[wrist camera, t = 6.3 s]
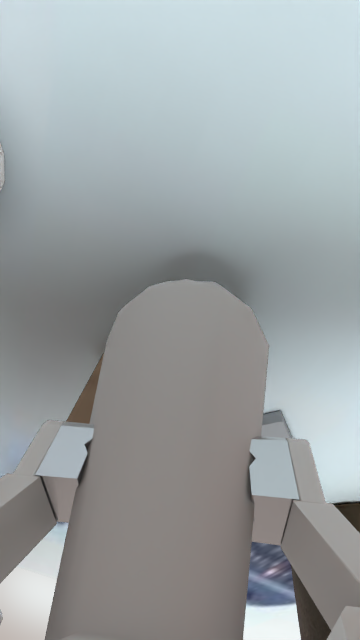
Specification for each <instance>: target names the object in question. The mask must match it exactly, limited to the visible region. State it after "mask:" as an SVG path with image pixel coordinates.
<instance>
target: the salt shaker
mask: <svg viewBox="0 0 360 640" xmlns="http://www.w3.org/2000/svg"><path fill="white" fill-rule="evenodd" d="M268 353H269V345H268V343H267V340H266V338H265V336H264V334H263V332H262V330H261V327H260V325H259V323H258V321H257V319H256V317H255V315H254V312H253V310H252V309H251V308H250V307H249V306H247V305H246V304H245V303H244V302H242V301H241V300H240V299H238V298H237V297H236V296H234V295H233V294H232V293H230V292H229V291H228V290H226V289H225V288H224V287H222V286H221V285H219V284H218V283H216V282H215V281H194V280H189V279H182V280H177V281H166V282H162V283H158V284H155V285H151V286H149V287H148V288H146V289H145V290H144V291H143V292H141V293H140V294H139V295H137V296H136V297H135V298H134V299H132V300H131V301H130V302H128V303H127V304H126V305H125V306H124V307H123V308H122V309H121V310H120V311H119V312H118V314H117V317H116V319H115V322H114V324H113V326H112V329H111V331H110V334H109V336H108V338H107V341H106V346H105V351H104V356H103V361H102V365H101V370H100V375H99V380H98V385H97V390H96V394H95V399H94V404H93V409H92V414H91V418H90V423H89V424H94V432H93V438H92V441H91V443H90V445H89V447H88V449H87V453H88V459H87V462H86V465H85V469H84V472H83V475H82V479H81V482H80V485H79V487H78V488H77V489H76V491H75V496H74V501H73V505H72V510H71V515H70V520H69V525H68V529H67V534H66V539H65V544H64V549H63V554H62V558H61V563H60V568H59V573H58V578H57V583H56V588H55V592H54V597H53V602H52V607H51V612H50V616H49V622H48V626H47V631H46V636H45V640H243V631H244V620H245V609H246V597H247V586H248V575H249V564H250V553H251V542H252V531H253V520H254V509H255V505H254V504H253V503H252V502H251V499H250V478H249V467H250V465H251V464H252V463H253V459H252V456H251V454H250V445H251V440H252V438H254V437H256V436H261V431H262V420H263V409H264V398H265V387H266V375H267V364H268Z"/></svg>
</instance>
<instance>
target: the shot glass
mask: <svg viewBox="0 0 360 640" xmlns="http://www.w3.org/2000/svg"><path fill="white" fill-rule="evenodd" d="M4 182H5V174H4V153H3V150H2V147H1V144H0V191H1V189H2V186H3V184H4Z"/></svg>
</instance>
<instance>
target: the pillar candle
mask: <svg viewBox="0 0 360 640" xmlns="http://www.w3.org/2000/svg"><path fill="white" fill-rule="evenodd" d="M334 506H335V507H336V508H337V509H338V510H339V511H340V512H341V514H342V515H343V516H344V517H345V518H346V519H347V520H348V521H349V522H350V523H351V524H352V526H353V527H354V528H355V529H356V530H357V531H358V532H359V533H360V504H359V503H354V504H343V505H334ZM291 569H292V576H293V584H294V592H295V598H296V605H297V613H298V621H299V627H300V634H301V640H327V638H328V636H329V635H330V633H331V629H330V628H329V626H328V624H327V623H326V621H325V619H324V618H323V616H322V614H321V613H320V611H319V610H318V608H317V606H316V605H315V603H314V601H313V600H312V598H311V596H310V595H309V593H308V591H307V590H306V588H305V586H304V585H303V583H302V582H301V580H300V578H299V577H298V575H297V573H296V572H295V570H294V568H293V567H292V565H291Z"/></svg>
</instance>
